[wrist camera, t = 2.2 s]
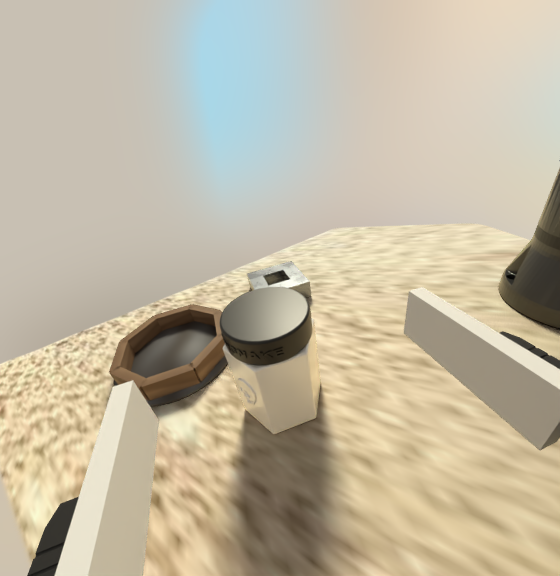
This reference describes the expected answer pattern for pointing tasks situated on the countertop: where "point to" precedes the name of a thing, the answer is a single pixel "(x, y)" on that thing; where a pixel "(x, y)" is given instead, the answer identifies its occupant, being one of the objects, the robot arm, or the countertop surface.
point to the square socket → (280, 278)
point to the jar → (273, 356)
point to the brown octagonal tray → (172, 354)
